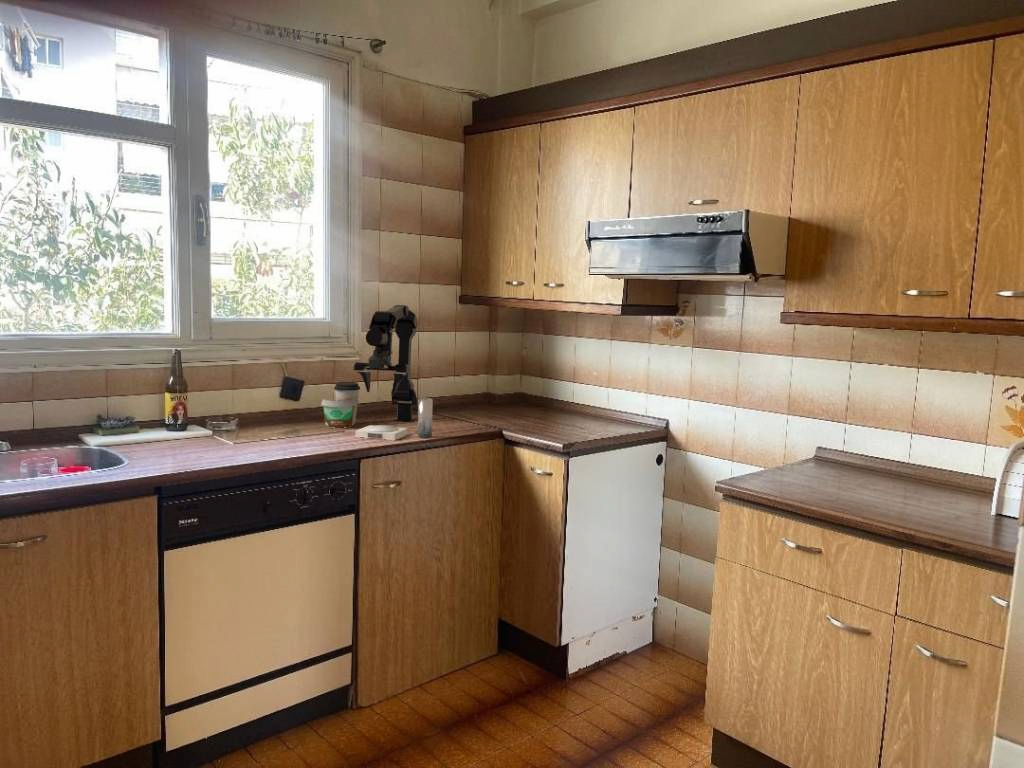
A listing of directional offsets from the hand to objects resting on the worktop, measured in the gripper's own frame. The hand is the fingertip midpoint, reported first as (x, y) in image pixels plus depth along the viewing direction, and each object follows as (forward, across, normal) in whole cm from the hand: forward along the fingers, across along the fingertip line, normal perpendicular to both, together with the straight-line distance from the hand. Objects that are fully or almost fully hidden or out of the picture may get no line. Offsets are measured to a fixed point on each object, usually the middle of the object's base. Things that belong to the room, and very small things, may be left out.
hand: (381, 392), depth 257 cm
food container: (+14, -17, +7) cm, 23 cm away
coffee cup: (+13, -17, +15) cm, 26 cm away
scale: (+14, +2, -3) cm, 15 cm away
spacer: (+14, +16, 0) cm, 22 cm away
